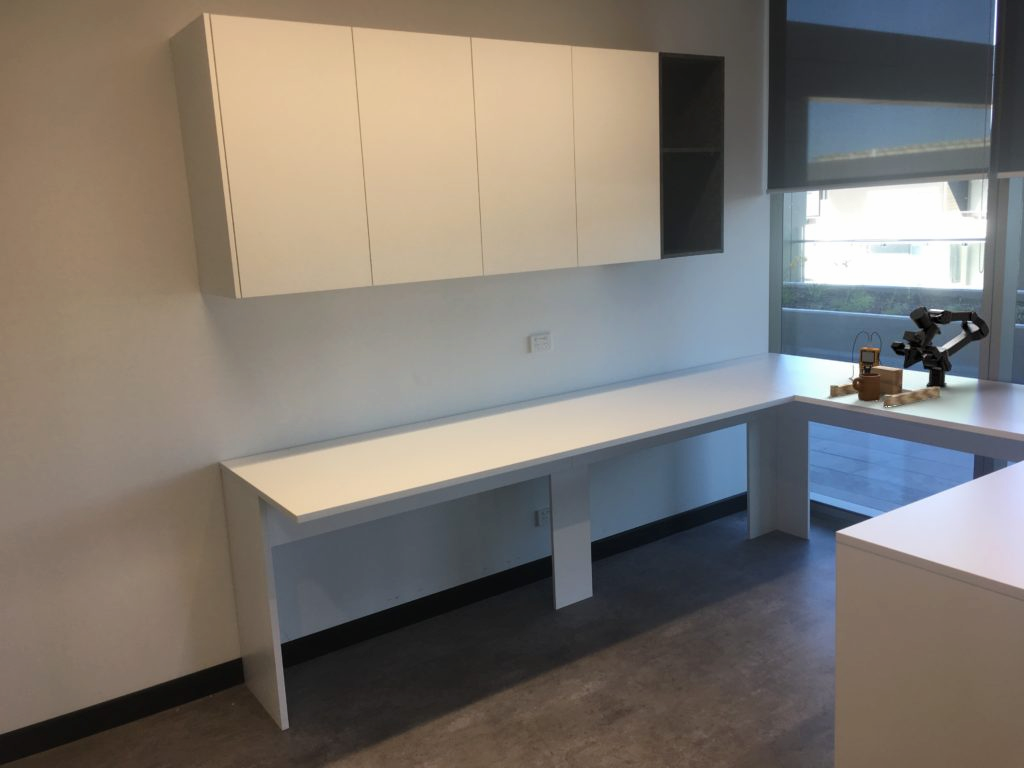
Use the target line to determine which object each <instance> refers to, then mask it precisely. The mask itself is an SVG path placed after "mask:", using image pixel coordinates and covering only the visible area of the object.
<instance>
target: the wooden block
mask: <svg viewBox="0 0 1024 768" xmlns="http://www.w3.org/2000/svg"><path fill="white" fill-rule="evenodd" d="M903 372H904V368H898V367H891V366H884V365H882V366H881V365H879V366H876V367H871V373H876V374H880V378H881V384H880V396H883V397H884V395H896V394H900V393H902V389H903V380H904V379H903V377H904V376H903V375H904V373H903Z"/></svg>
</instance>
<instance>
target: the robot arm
mask: <svg viewBox="0 0 1024 768" xmlns="http://www.w3.org/2000/svg"><path fill="white" fill-rule="evenodd" d="M909 319H911V321H912V322H913V324H914V325H915V326H916V328H917V329H919V330H918V331H912V330H904V334H903V336H902V340H904V341H907V342H906V343H907V344H905V343H904V342H901V341H893V342H892V343H891V344H890V348H891V349H892V350H893V352H894V353H895V355H897V356H899V357H900V356H901V357H904V360H903V364H902V365H903V370H904V369H905V370H907V369H909V368H910V367H912V366H914V365H915V364H917V363H920V362H922V366H923V370H928V382H927V383H926V387H935V386H936V387H940V388H946V386H947V384H948V383H947V382H946V372H947V373H949V372H951V371H952V367H953V365H952V363H951V362H950V357H952V356H953V355H955V354H956V353H958V351H960V350H962V349H963V348H965V347H966V346H968V345H969V344H970V343H972V342H978V341H980V340H981V341H982V340H984V339H986V337H988V335H989V332H990V328H989V327H988V325H987V322H986V321H985V320H984V319H982V318H981V317H980V316H979V315H978V314H977V312H976V311H973V310H963V311H960V310H959V311H952V310H951V311H950V310H948V309H947V310H946V309H934V308H931V309H929V310H927V307H926V306H924V305H923V306H921V305H920V306H919V307H917V308H916V309H914V310H912V311H911V312H910V314H909ZM951 322H961V324H960V327H961V330H962V331H961V333H959V335H957V336H956V337H954V338H953V339H951V340H950V341H948V342H946V343H945V344H943V346H935V345H933V342H932V341H933V340H934V338H935V336H937V335H942V331H941V328H940V327H939V325H940V326H942V325H943V326H945V325H949V324H951Z"/></svg>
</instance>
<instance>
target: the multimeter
mask: <svg viewBox="0 0 1024 768" xmlns="http://www.w3.org/2000/svg"><path fill="white" fill-rule="evenodd" d="M861 333H863V331H860V332H859V333H858V334H857V335H856V337H855V340H854V343H853V347H852V351H854V348H855V344H856V341H857V338H858V336H859V335H860V334H861ZM864 333H865V334H866V335H867V336H868V342H867V347H866V346H865V347H860V348H859V359H858V369H859V373H858V375H859V374H862V373H871V367H876V366H883V365H882V362H881V360H880V359H881V358H880V355H881V351H882V346H880V347H879V348H874V347H873V345H872V337H873V335H874V333H875V334H876V335H877V336H878V338H879V340H880V345H882V343H883V342H882V339H881V336H880V335H879V334H878V333H877V332H876V331H874V332H872V334H871V336H870V334H869V333H868V332H867V331H864ZM851 355H852V361H854V352H852V354H851ZM854 368H855V367H854V366H852V376H851V377H849V378H848V379H849V380H851V381H853V380H854V370H855V369H854Z"/></svg>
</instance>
